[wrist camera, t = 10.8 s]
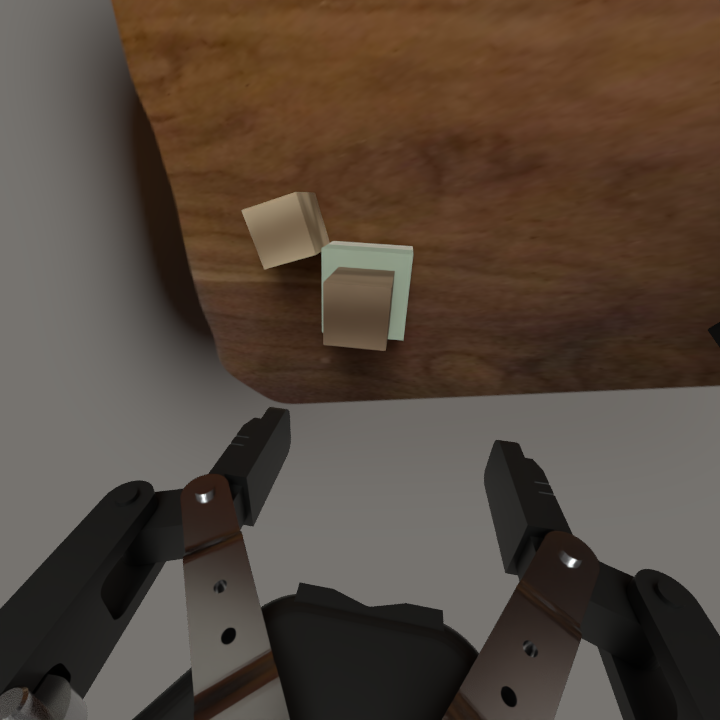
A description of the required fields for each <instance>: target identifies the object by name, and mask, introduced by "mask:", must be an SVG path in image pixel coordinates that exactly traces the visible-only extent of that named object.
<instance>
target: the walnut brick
mask: <svg viewBox="0 0 720 720" xmlns="http://www.w3.org/2000/svg"><path fill="white" fill-rule="evenodd" d="M394 274H395V271H389V270H376V269H363V268H349V267H338V268H337V269H336V270H335V271H334V272H333V273H332V274H331V275H330V276H329V277H328V278H327V279H326V280H325V281H324V282H323V345H330V346H340V347H350V348H360V349H370V350H380V351H386V346H387V340H388V333H389V327H390V317H391V306H392V296H393V285H394Z"/></svg>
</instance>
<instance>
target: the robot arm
mask: <svg viewBox="0 0 720 720" xmlns="http://www.w3.org/2000/svg"><path fill="white" fill-rule="evenodd" d="M290 443H291V434H290V415H289V410H287V409H281V408H274V407H269V408H268V409H267V411H266V412H265V414H264V415H263V417H262V418H261V419H260V418H253V419H252V420H250V421H249V422H248V423H246V424H245V425H243V427H242V428H241V430H240V431H239V432H238V434H237V436H236V437H235V438H234V439H233V440H232V442H231V444H230V445H229V446H228V447H227V449H226V450H225V452H224V453H223V454H222V456H221V457H220V458H219V460H218V461H217V463H216V464H215V465H214V467H213V468H212V470H211V471H210V472H209V474H206V475H202V476H199V477H197V478H195V479H193V480H192V481H190V482H189V483H188V484H187V485H186V486H185V487H184V488H183V489H178V490H169V491H160V492H154V489H153V486H152V485H151V484H150V483H148V482H146V481H131V482H128V483H125V484H122V485H120V486H118V487H116V488H115V489H113V490H112V491H110V492H109V493H108V494H107V495H106V496H105V497H104V498H103V499H102V500H101V501H100V502H99V503H98V504H97V505H96V506H95V508H94V509H93V510H92V511H91V512H90V513H89V514H88V515H87V516H86V517H85V518H84V520H82V521H81V523H80V524H79V525H78V526H77V527H76V528H75V529H74V530H73V531H72V532H71V533H70V534H69V536H68V537H67V538H66V539H65V540H64V541H63V542H62V543H61V544H60V545H59V546H58V547H57V548H56V550H55V551H54V552H53V553H52V554H51V555H50V556H49V557H48V558H47V559H46V560H45V561H44V562H43V563H42V565H41V566H40V567H39V568H38V569H37V570H36V571H35V572H34V573H33V574H32V575H31V576H30V577H29V579H28V580H27V581H26V582H25V583H24V584H23V585H22V586H21V587H20V588H19V589H18V590H17V592H16V593H15V594H14V595H13V596H12V597H11V598H10V599H9V600H8V601H7V602H6V603H5V604H4V606H3V607H2V608H1V609H0V720H87V707H86V704H85V702H84V701H83V698H84V697H85V695H86V693H87V692H88V690H89V688H90V687H91V685H92V683H93V682H94V680H95V678H96V677H97V675H98V673H99V672H100V670H101V668H102V667H103V665H104V663H105V662H106V660H107V658H108V657H109V655H110V653H111V652H112V650H113V649H114V647H115V645H116V643H117V642H118V640H119V639H120V637H121V635H122V633H123V632H124V630H125V629H126V627H127V625H128V624H129V622H130V620H131V619H132V617H133V615H134V614H135V612H136V610H137V609H138V607H139V605H140V604H141V602H142V600H143V599H144V597H145V595H146V594H147V592H148V590H149V589H150V587H151V586H152V584H153V582H154V581H155V579H156V577H157V576H158V574H159V572H160V571H161V569H162V567H163V565H164V564H165V562H166V561H170V560H177V559H183V570H184V581H185V592H186V606H187V617H188V630H189V642H190V655H191V668H190V669H189V670H188V671H187V672H186V673H185V674H183V675H182V676H181V677H180V678H179V679H178V680H177V681H176V682H174V683H173V684H172V685H171V686H170V687H169V688H167V689H166V690H165V691H164V692H163V693H162V694H161V695H160V696H158V697H157V698H156V699H155V700H154V701H153V702H152V703H151V704H149V705H148V706H147V707H146V708H145V709H144V710H143V711H141V712H140V713H139V714H138V715H137V716H136V717H135V718H134V719H132V720H554V718H555V715H556V712H557V709H558V706H559V703H560V700H561V697H562V694H563V691H564V688H565V685H566V682H567V679H568V676H569V673H570V670H571V668H572V664H573V661H574V659H575V656H576V653H577V650H578V647H579V644H580V641H581V638H582V639H584V640H586V641H588V642H590V643H592V644H594V645H596V646H597V647H598V649H599V652H600V655H601V657H602V661H603V664H604V666H605V669H606V672H607V675H608V678H609V680H610V683H611V686H612V689H613V692H614V695H615V697H616V700H617V703H618V706H619V709H620V712H621V715H622V717H623V720H720V636H719V634H718V632H717V631H716V629H715V628H714V626H713V625H712V623H711V622H710V620H709V618H708V617H707V615H706V614H705V612H704V611H703V609H702V607H701V606H700V604H699V603H698V601H697V600H696V599H695V597H694V596H693V595H692V594H691V593H690V592H689V591H688V590H687V589H686V588H685V587H684V586H682V585H681V584H680V583H679V582H677V581H676V580H674V579H673V578H671V577H669V576H667V575H666V574H664V573H661V572H659V571H655V570H651V569H643V570H640V571H639V572H638V573H637V574H636V575H635V577H633V576H630V575H629V574H626V573H624V572H622V571H619V570H617V569H615V568H613V567H610V566H608V565H606V564H604V563H602V562H600V561H598V559H597V557H596V555H595V554H594V553H593V551H592V550H591V549H590V548H589V547H588V546H587V545H586V544H585V543H584V542H583V541H582V540H580V539H579V538H577V537H575V536H574V535H573V534H572V532H571V530H570V528H569V526H568V523H567V521H566V519H565V517H564V515H563V513H562V510H561V508H560V506H559V504H558V502H557V500H556V497H555V496H554V495H553V491H552V489H551V487H550V485H549V482H548V480H547V478H546V476H545V473H544V471H543V470H542V469H541V468H540V467H539V466H538V465H537V463H536V462H535V461H534V460H533V459H528V458H525V457H524V455H523V452H522V450H521V447H520V445H519V444H518V443H515V442H508V441H501V440H496V441H495V442H494V444H493V448H492V450H491V453H490V456H489V459H488V463H487V466H486V469H485V474H484V485H485V489H486V493H487V498H488V502H489V506H490V510H491V514H492V519H493V523H494V527H495V531H496V536H497V540H498V544H499V548H500V552H501V556H502V561H503V565H504V569H505V573H508V574H514V575H518V577H519V581H520V582H519V584H518V585H517V587H516V589H515V590H514V592H513V594H512V596H511V598H510V600H509V601H508V603H507V605H506V607H505V608H504V610H503V612H502V614H501V616H500V617H499V619H498V621H497V623H496V624H495V626H494V628H493V630H492V632H491V634H490V635H489V637H488V639H487V641H486V642H485V644H484V646H483V648H482V649H481V651H480V653H478V652H477V650H476V649H475V648H474V647H473V646H472V645H471V644H470V643H469V642H468V641H467V640H466V639H465V638H464V637H463V636H462V635H460V634H459V633H458V632H457V631H455V630H454V629H452V628H451V627H449V626H447V625H445V624H444V623H443V611H442V610H438V609H432V608H428V607H423V606H418V605H413V604H407V603H405V604H394V605H386V606H385V605H384V606H374V607H368V606H365V605H363V604H362V603H360V602H358V601H355V600H354V599H352V598H350V597H348V596H346V595H344V594H342V593H340V592H338V591H336V590H334V589H330V588H325V587H320V586H315V585H310V584H305V583H299V587H298V590H297V594H293V595H288V596H283V597H280V598H278V599H275V600H273V601H271V602H269V603H267V604H265V605H264V606H262V607H261V606H260V603H259V599H258V595H257V591H256V587H255V583H254V579H253V575H252V571H251V567H250V563H249V559H248V555H247V551H246V547H245V543H244V539H243V535H242V532H241V531H240V529H241V527H242V526H243V525H248V526H254V524H255V522H256V520H257V518H258V516H259V513H260V511H261V509H262V507H263V505H264V503H265V501H266V499H267V497H268V495H269V493H270V490H271V488H272V486H273V484H274V482H275V480H276V478H277V476H278V474H279V471H280V470H281V467H282V465H283V463H284V461H285V459H286V457H287V455H288V452H289V449H290Z"/></svg>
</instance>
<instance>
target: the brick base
mask: <svg viewBox="0 0 720 720" xmlns="http://www.w3.org/2000/svg"><path fill="white" fill-rule="evenodd" d="M321 253H322V333H323V282H324V281H325V280H326V279H327V278H328V277H329V276H330V275H331V274H332V273H333V272H334V271H335V270H336V269H337V268H338V267H349V268H363V269H376V270H389V271H395V274H394V285H393V296H392V306H391V317H390V327H389V333H388V339H393V340H403V338H404V329H405V321H406V312H407V304H408V295H409V286H410V278H411V269H412V260H413V246H400V245H385V244H370V243H355V242H341V241H332V242H331V243H329V244H327V245H326V246H324V247H322V248H321Z"/></svg>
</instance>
